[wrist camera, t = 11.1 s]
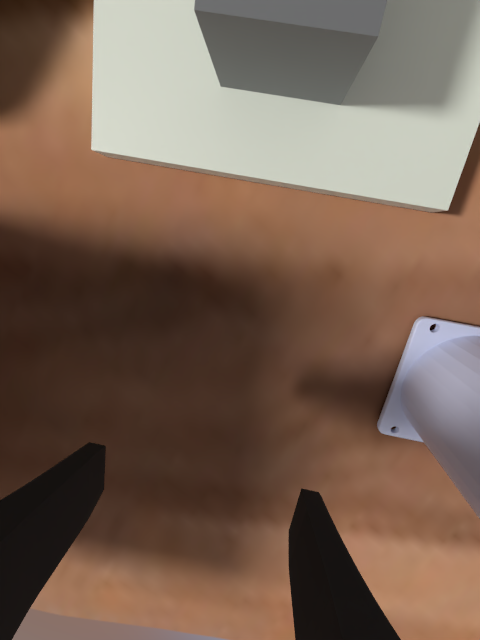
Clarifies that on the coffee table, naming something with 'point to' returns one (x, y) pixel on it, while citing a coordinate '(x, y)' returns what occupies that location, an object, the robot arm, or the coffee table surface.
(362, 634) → the robot arm
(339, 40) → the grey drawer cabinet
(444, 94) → the plate
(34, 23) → the coffee table surface
